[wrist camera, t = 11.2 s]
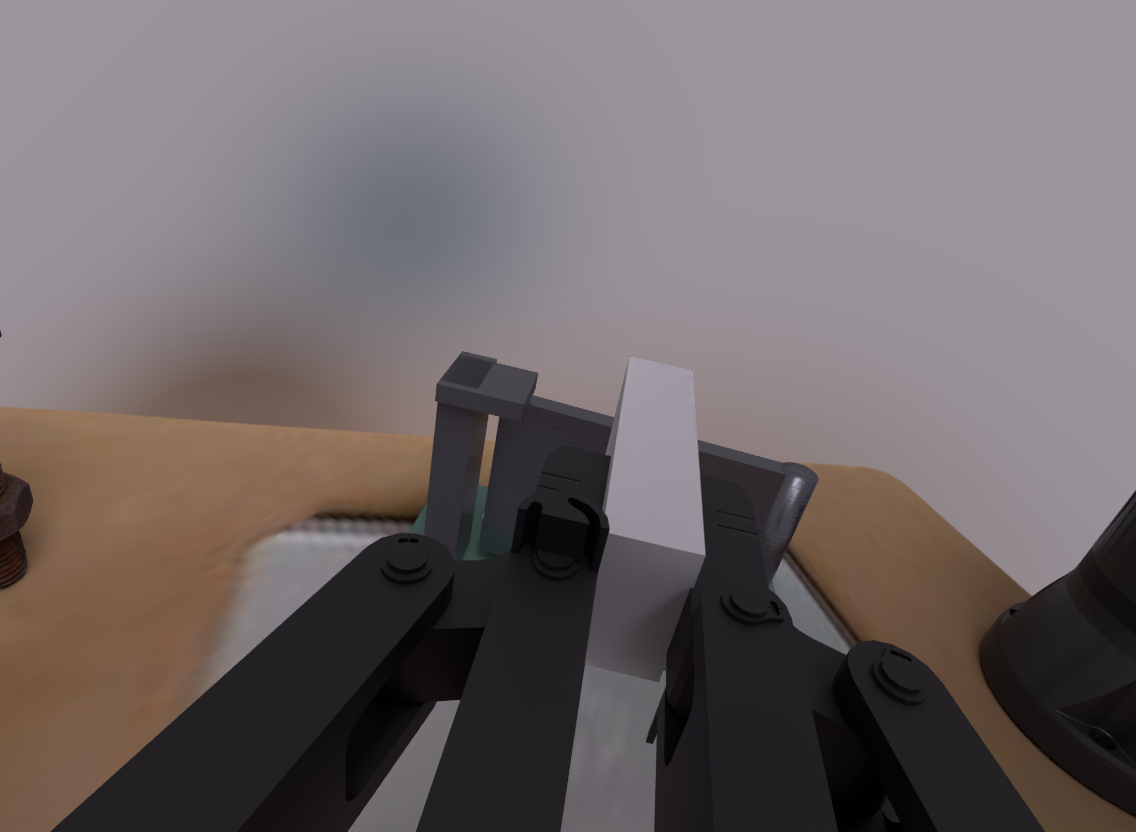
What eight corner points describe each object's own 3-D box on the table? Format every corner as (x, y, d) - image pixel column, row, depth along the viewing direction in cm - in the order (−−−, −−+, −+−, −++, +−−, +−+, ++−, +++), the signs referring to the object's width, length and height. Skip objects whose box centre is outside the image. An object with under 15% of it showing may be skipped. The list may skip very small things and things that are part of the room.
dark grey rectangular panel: (750, 611, 40) (815, 468, 35) (752, 634, 38) (821, 487, 33) (486, 533, 42) (510, 385, 36) (476, 552, 40) (500, 400, 35)
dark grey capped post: (505, 551, 42) (539, 369, 36) (489, 600, 38) (523, 404, 32) (440, 535, 42) (462, 351, 36) (416, 581, 38) (436, 383, 32)
